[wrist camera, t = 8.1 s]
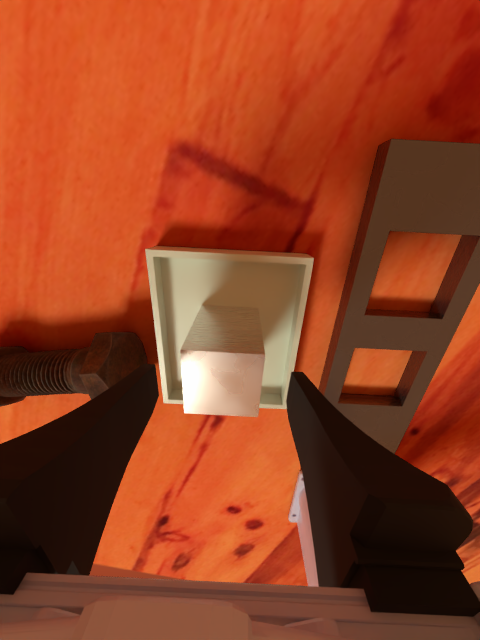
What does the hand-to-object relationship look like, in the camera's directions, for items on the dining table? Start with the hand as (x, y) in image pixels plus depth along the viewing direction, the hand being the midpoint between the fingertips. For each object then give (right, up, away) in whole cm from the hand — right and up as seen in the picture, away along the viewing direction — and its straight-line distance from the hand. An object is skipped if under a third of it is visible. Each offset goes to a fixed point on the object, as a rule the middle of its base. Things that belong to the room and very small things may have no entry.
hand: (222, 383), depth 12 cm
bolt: (-14, +1, +7) cm, 16 cm away
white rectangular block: (0, +3, +5) cm, 6 cm away
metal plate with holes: (+12, +2, +6) cm, 13 cm away
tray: (0, +3, +5) cm, 6 cm away
